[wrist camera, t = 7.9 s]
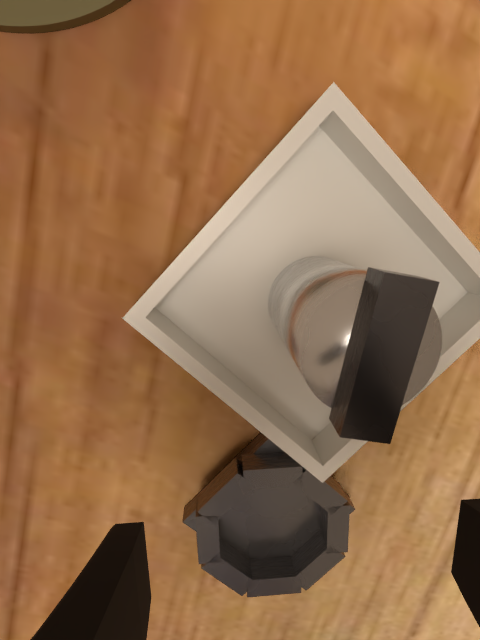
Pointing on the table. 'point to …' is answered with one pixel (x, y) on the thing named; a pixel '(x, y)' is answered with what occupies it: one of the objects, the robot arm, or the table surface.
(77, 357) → the table surface
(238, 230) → the bin
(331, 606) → the table surface
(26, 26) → the flange
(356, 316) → the silver cylinder with bar
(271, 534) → the stud mount
